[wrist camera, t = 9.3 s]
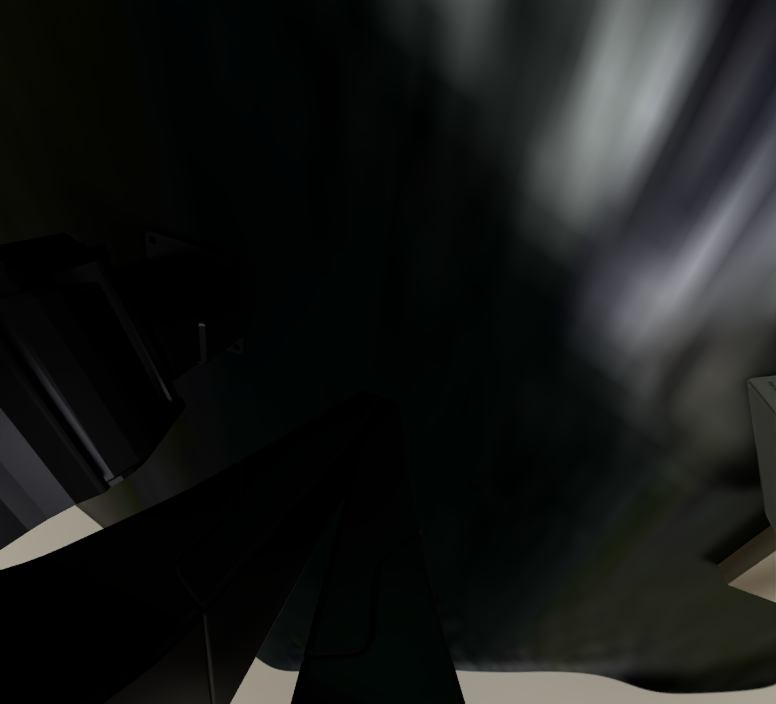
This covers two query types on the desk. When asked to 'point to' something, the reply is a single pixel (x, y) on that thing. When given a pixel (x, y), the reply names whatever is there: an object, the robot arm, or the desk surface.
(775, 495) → the ink box
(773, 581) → the birch board
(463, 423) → the desk surface
